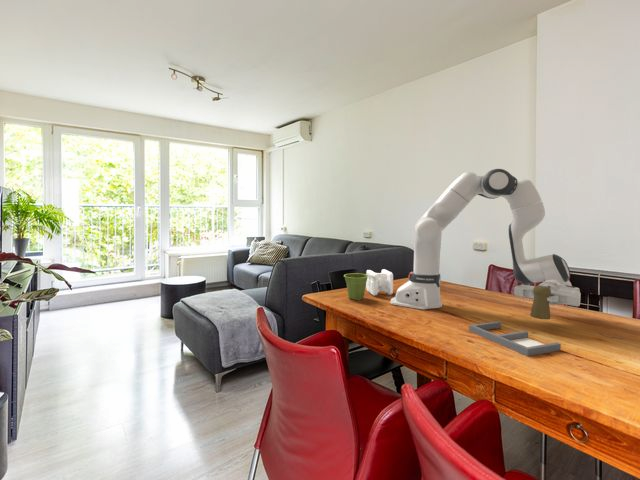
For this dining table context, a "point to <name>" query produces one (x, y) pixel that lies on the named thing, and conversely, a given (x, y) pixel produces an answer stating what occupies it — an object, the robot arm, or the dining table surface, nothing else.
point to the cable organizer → (379, 282)
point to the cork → (541, 303)
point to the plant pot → (356, 285)
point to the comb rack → (514, 340)
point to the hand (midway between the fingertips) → (540, 298)
